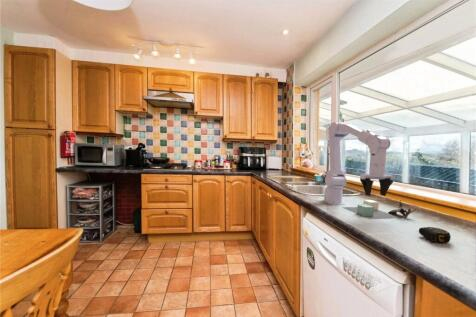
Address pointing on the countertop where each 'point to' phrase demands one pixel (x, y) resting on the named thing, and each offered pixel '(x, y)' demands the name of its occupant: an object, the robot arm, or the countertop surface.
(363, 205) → the teal brick
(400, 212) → the eagle figurine
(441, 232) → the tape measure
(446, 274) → the countertop surface
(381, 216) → the build mat
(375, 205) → the cream brick
